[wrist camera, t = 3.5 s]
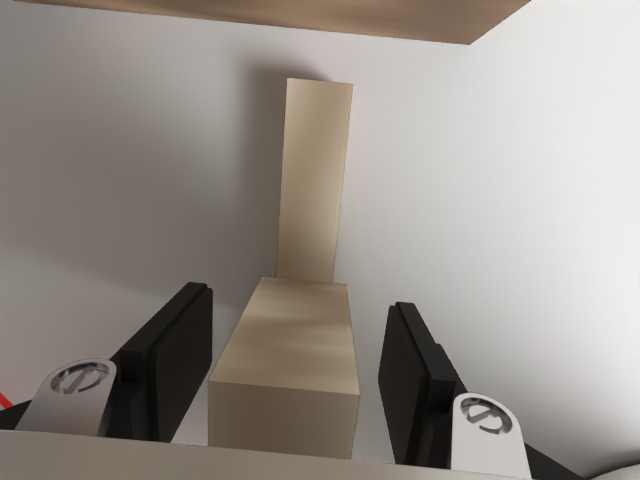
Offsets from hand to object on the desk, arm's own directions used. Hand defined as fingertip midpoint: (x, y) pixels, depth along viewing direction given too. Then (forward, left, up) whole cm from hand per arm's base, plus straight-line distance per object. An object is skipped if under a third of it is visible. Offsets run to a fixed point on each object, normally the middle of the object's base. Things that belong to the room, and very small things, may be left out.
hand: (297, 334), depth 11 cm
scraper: (0, 0, -4) cm, 4 cm away
